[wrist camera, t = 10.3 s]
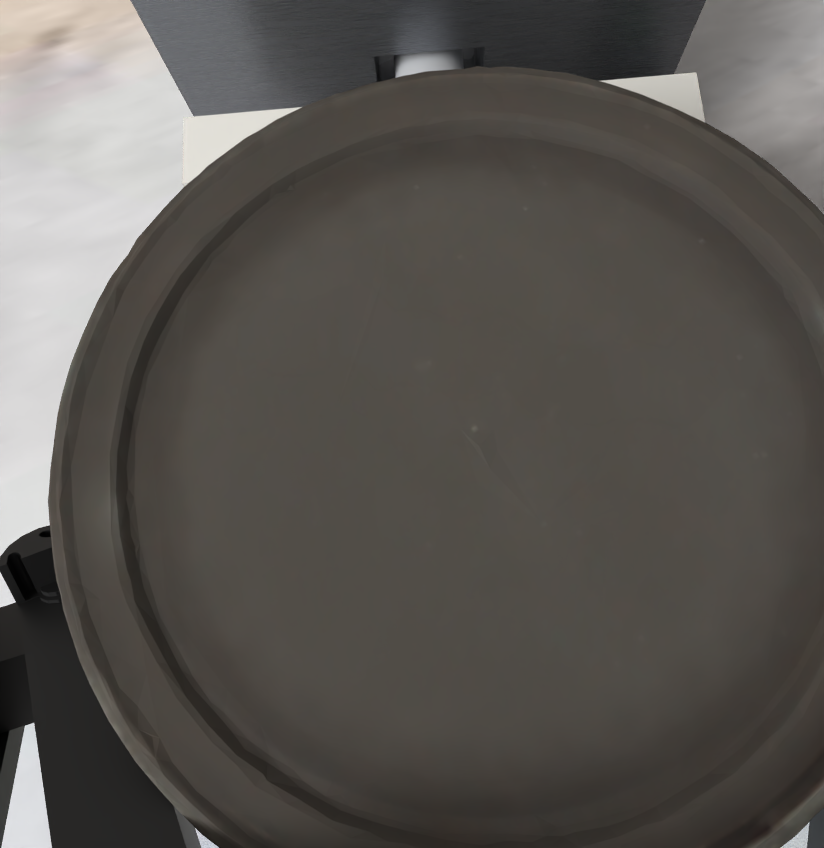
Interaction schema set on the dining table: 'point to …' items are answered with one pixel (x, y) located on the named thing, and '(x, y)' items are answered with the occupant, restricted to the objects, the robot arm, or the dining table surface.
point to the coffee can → (460, 479)
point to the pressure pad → (224, 131)
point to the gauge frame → (398, 42)
